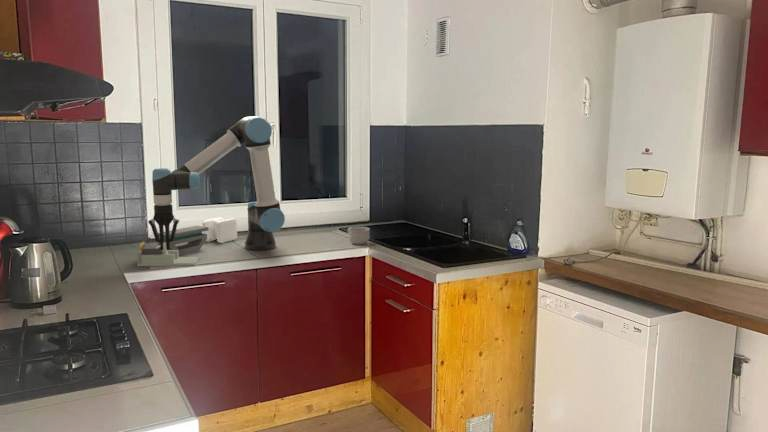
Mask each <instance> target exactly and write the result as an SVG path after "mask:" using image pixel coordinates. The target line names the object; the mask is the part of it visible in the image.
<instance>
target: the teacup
mask: <svg viewBox="0 0 768 432" xmlns="http://www.w3.org/2000/svg"><path fill="white" fill-rule="evenodd" d="M370 231H371V230H370V227H367V226H354V227H351V226H350V227H348V228H347V234H348V236H349V237H348V238H349V241H350V242H351V243H352V244H353V245H355V244H356V246H360V245H362V244H363V245H366V244H367V243H368V242H369V240H370ZM365 243H366V244H365ZM363 245H362V246H363Z"/></svg>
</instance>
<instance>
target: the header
mask: <svg viewBox="0 0 768 432" xmlns="http://www.w3.org/2000/svg"><path fill="white" fill-rule="evenodd" d="M145 246H146V245H145V241H142V242H140V243H139V249H138V251H137V254H136V255H137V257H136V258H137V265H136V266H137V267H166V266H167V267H174V266H175V267H177V266H178V267H179V266H180V267H182V266H183V267H185V266H187V267H188V266H190V267H191V266H196V265H197V264H198V262H199V261H200V260H201V257H200V256H183V257H182V256H179V250H168V254H163V250H162V254H157V255H143V252H142V249H143V248H144V247H145Z"/></svg>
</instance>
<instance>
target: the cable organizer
mask: <svg viewBox="0 0 768 432" xmlns="http://www.w3.org/2000/svg"><path fill="white" fill-rule="evenodd" d="M202 226H203V227H209V230H208V231H203V232H202V234H207V240H206V241H205V242H208V243H211V242H213V241H215V240H216V239H217V240H216V242H218V243H219V244H224V243H227V242H233V241H235V240H236V239H237V238H238V220H237V219H236V218H233V217H232V218H227V219H225V218H224V217H215V218H208V219H206V220H204V221H203V222H202ZM232 240H233V241H232Z"/></svg>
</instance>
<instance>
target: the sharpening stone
mask: <svg viewBox="0 0 768 432" xmlns="http://www.w3.org/2000/svg"><path fill="white" fill-rule="evenodd" d="M208 230H209V227H203V225H194V226H193V225H192V226H188V227H183V228H178V229H177V228H176V233H175V237H174V240H173V241H172V242H170V249H169V250H179V257H182V256H186V255H190V254H195V253H199V251H201V249H202V247H203V246H204V244H205V243H206V242H207V241H206V240H207V234H203V231H208ZM169 231H170V238H171V233H172V230H171V229H170V230H169ZM158 235H159V238H160V232H158ZM164 240H165V241H164V242H166V234H165V231H164ZM183 243H185V244H183ZM178 244H181V245H178ZM157 246H161V244H160V242H157Z"/></svg>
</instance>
